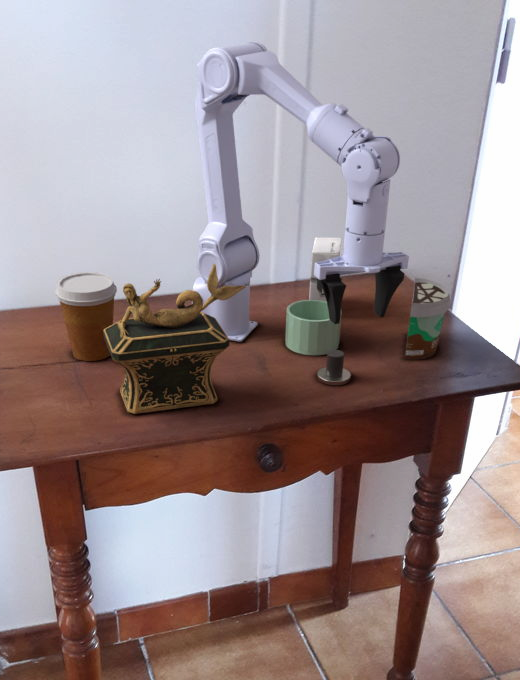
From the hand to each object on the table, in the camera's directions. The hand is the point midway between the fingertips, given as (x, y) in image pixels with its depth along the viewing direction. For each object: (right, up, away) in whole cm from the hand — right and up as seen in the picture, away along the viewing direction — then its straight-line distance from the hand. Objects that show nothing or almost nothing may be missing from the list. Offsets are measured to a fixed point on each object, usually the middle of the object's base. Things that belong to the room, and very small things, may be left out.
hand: (356, 318), depth 130 cm
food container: (+13, -3, +12) cm, 18 cm away
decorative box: (-27, -12, -2) cm, 30 cm away
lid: (-3, -9, +3) cm, 10 cm away
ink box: (-3, +7, +26) cm, 27 cm away
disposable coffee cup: (-42, -4, +9) cm, 43 cm away
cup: (-6, -1, +13) cm, 15 cm away
